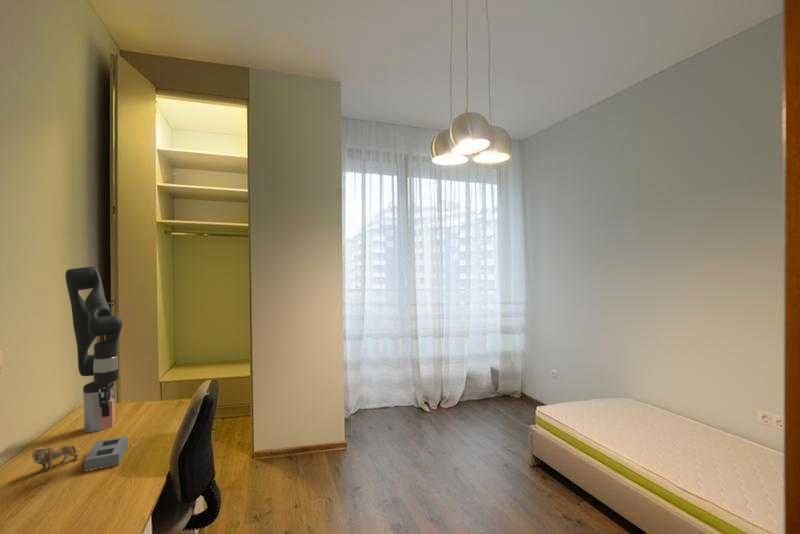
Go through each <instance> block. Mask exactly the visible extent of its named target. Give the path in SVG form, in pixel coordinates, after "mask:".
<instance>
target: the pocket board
mask: <svg viewBox="0 0 800 534" xmlns="http://www.w3.org/2000/svg"><path fill="white" fill-rule="evenodd" d="M128 438H129V437H128V435H123V436H118V437H114V438H113V437H112V438H107V439H102V440H101V439H99V440H97V441H96V442H95V444H94V445H93V447H92V448H91V450H90V451H89V452H88V454H87V455H86V457H85V458H84V460H83V462H84V465H83V466H84V468H83V469H84V471H86V470H90V469H95V468H100V467H106V466H111V467H113V466H112V465H117V466H120V464H119V463H121V462H120V461H122V459H123V457H124V455H125V454H126V453H125V452H126V450H127V448H128V446H129V439H128ZM106 468H107V467H106ZM86 472H87V471H86Z"/></svg>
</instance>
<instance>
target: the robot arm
mask: <svg viewBox="0 0 800 534" xmlns="http://www.w3.org/2000/svg"><path fill="white" fill-rule="evenodd" d="M64 275H65V283H66V287H67V292H68V293H67V294H68V296H69V301H70V307H71V315H72V323H73V324H72V326H73V331H74V336H75V341H76V349H77V350H76V351H77V367H78V372H79V375H80V376H81V377H90V376H91V377H92V376H93V381H91V382H88V383H86V384H85V385H84V386H83V390H82V391H83V392H82V393H83V394H82V398H83V402H82V403H83V431H84V432H85V433H95V432H98V431H102V429H100V430H99V406H100V407H102V417H107V416H109V405H110V404H109V401H110V399H111V398H114V399H115V396H114V392H115V382H117V381H118V380H119V360H118V342H119V338H120V335H121V331H122V330H123V329H122V328H123V320H122V318H121V316H119V315H111V313H112V311H111V308H110V305H109V304H108V301H107V299H106V295H105V289H104V285H103V282H102V278H101V274H100V271H99V270H98V269H97V267H95V266H85V267H78V268H77V267H75V268H70V269H67V270H66V271H65V274H64ZM90 289H91V291H90V293H88V295H87V297H86V298H85V300H84V298H83V297H82V296H81V295H80V294H79V291H83V290H84V291H85V290H90ZM99 336H100V337H101V336H108V337H107V338H106V339H103V340H100V341H98V342H96V343H95V344H94V345H93V354H89V352H88V351H89V349H90V347H91V345H92V343H94V341H95V340H96V339H97V337H99ZM103 401H105V402H106V403H103Z"/></svg>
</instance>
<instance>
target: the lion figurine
mask: <svg viewBox="0 0 800 534" xmlns="http://www.w3.org/2000/svg"><path fill="white" fill-rule="evenodd" d="M62 456H63V459H62V460H61V461H60V463H61V464H63V463H65V461H66V460H67V459H68V458H69V456H70V457H74V458H73V460H72V461H73V462H76V461H78V457H79V456H80V455H79V454H77V450H76V447H75V446H74V445H73V444H71V443H66V444H62V445H61V446H59V447H56V448H51V447H43V446H41V447H38V448H36V449H35V450H34V451H33V452H32V454H31V457H32V461H33V462H34V463H36V464H38V465H41V466H42V468H40V471H45V470H46V472H50V471H52V468H53V467H52V465H53V461H54V460H57V459H58V458H60V457H62ZM46 468H47V469H46Z"/></svg>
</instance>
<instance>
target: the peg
mask: <svg viewBox="0 0 800 534" xmlns="http://www.w3.org/2000/svg"><path fill="white" fill-rule="evenodd" d="M103 403H106V402H105V401H103ZM109 404H110V405H109V416H107V417H102V407H100V406H99V430H100V429H103V430H105V429H113V428H114V426H115V424H116V422H115V421H116V420H115V419H116V417H115V411H116V410H115V397H114V398H111V399H110V401H109ZM100 431H101V430H100Z"/></svg>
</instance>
